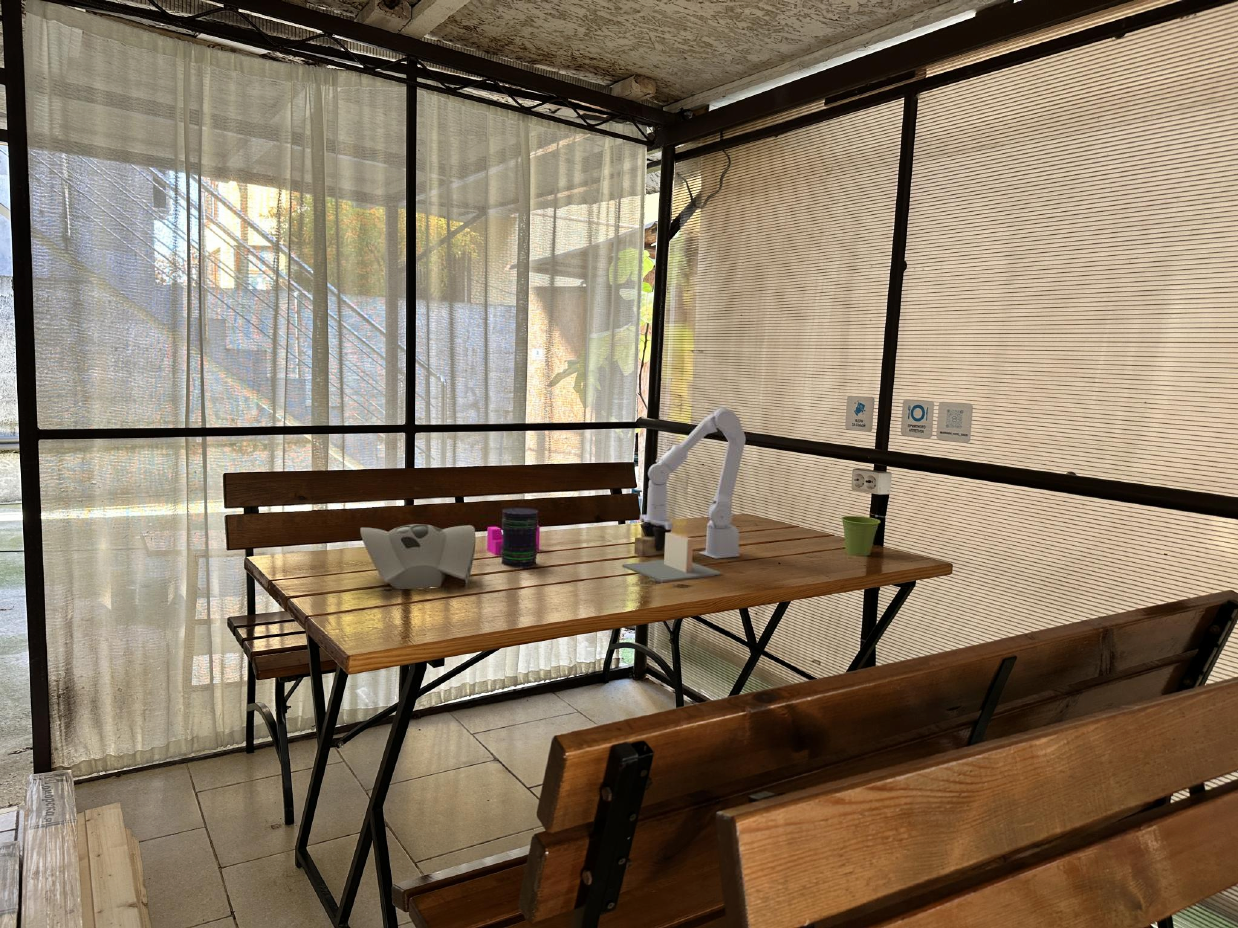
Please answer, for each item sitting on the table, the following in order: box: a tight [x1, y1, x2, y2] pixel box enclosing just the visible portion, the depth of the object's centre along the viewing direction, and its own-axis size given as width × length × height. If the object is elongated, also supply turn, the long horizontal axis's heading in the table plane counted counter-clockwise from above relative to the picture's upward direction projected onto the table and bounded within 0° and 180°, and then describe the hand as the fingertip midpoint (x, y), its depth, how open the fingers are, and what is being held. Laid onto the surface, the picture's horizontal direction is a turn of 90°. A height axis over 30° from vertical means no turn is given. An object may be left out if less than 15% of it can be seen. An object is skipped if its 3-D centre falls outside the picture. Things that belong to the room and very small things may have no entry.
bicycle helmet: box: [359, 523, 477, 590], centre depth 213 cm, size 28×26×16 cm
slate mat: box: [622, 559, 723, 583], centre depth 236 cm, size 20×19×1 cm
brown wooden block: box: [633, 536, 665, 557], centre depth 257 cm, size 12×4×5 cm, turn 123°
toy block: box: [486, 525, 541, 556], centre depth 251 cm, size 15×6×8 cm, turn 121°
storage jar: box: [500, 507, 539, 569], centre depth 236 cm, size 10×10×15 cm
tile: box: [663, 531, 694, 572], centre depth 237 cm, size 2×10×9 cm, turn 33°
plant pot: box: [840, 515, 881, 557], centre depth 267 cm, size 12×12×11 cm
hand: (654, 549), depth 257 cm, fingers closed on brown wooden block, 4 cm apart
